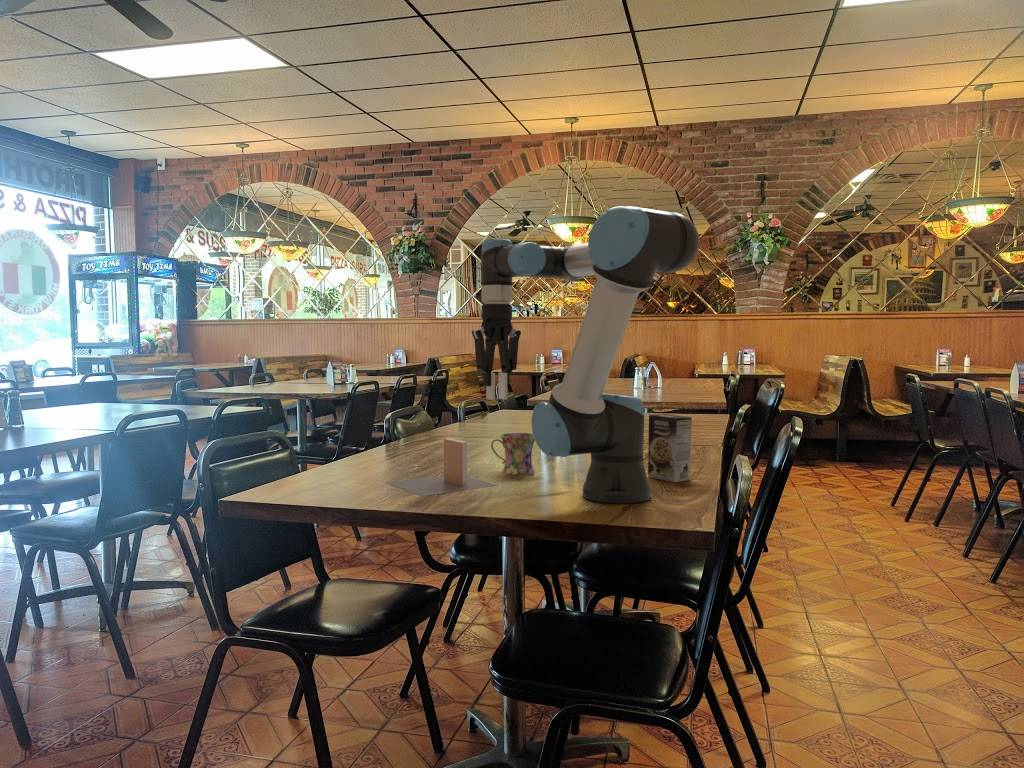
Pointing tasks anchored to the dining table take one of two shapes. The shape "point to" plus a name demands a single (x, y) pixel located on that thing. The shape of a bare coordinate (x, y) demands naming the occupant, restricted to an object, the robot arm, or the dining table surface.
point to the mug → (517, 453)
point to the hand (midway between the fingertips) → (496, 399)
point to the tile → (455, 461)
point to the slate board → (437, 485)
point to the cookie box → (669, 447)
